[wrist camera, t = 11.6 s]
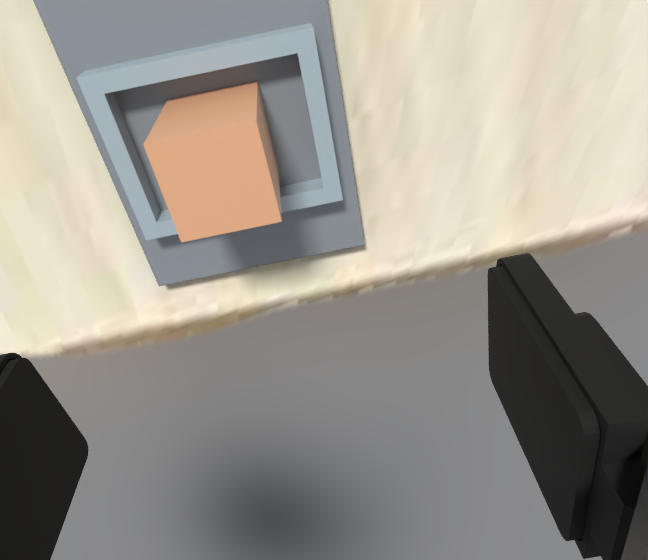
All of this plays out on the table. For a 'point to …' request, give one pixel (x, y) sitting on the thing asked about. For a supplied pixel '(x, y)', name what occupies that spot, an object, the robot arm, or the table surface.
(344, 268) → the table surface
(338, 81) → the holder dock
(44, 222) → the table surface
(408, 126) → the table surface
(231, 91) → the orange rectangular block
